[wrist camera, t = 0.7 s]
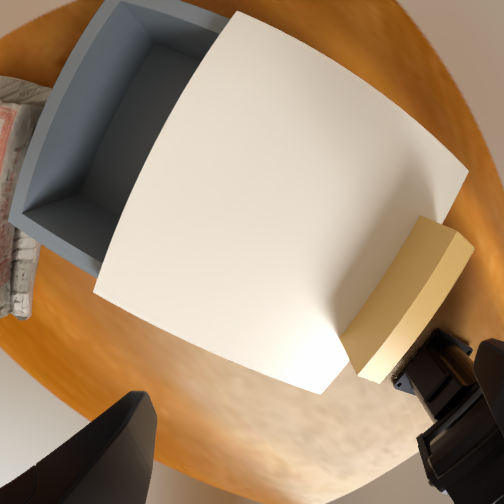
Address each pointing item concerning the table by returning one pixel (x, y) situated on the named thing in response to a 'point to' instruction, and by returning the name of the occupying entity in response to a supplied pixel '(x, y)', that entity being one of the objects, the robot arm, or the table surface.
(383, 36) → the table surface
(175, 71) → the storage box
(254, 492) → the table surface
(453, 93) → the table surface
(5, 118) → the packaged product
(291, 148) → the lid
